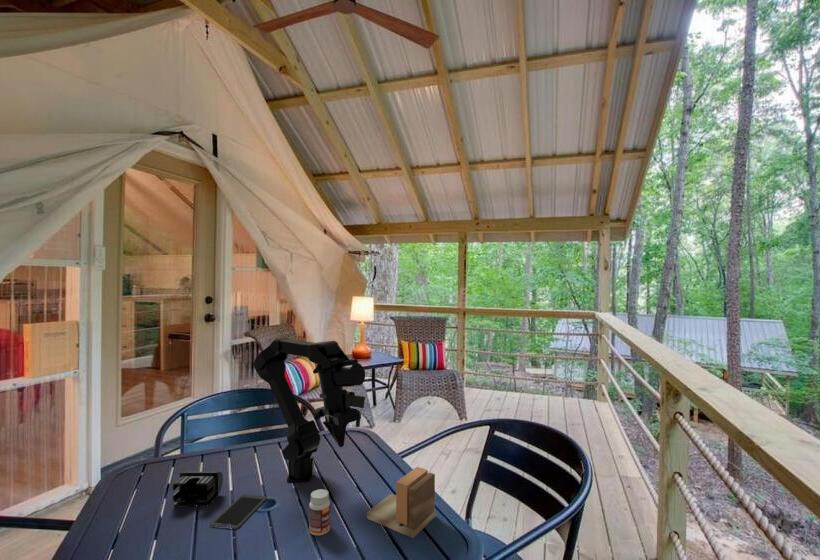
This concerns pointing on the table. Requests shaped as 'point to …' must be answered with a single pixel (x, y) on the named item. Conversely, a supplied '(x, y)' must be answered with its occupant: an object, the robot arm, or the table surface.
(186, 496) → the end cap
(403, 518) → the wooden board
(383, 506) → the pipe board
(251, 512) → the cell phone
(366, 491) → the table surface
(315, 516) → the pill bottle
